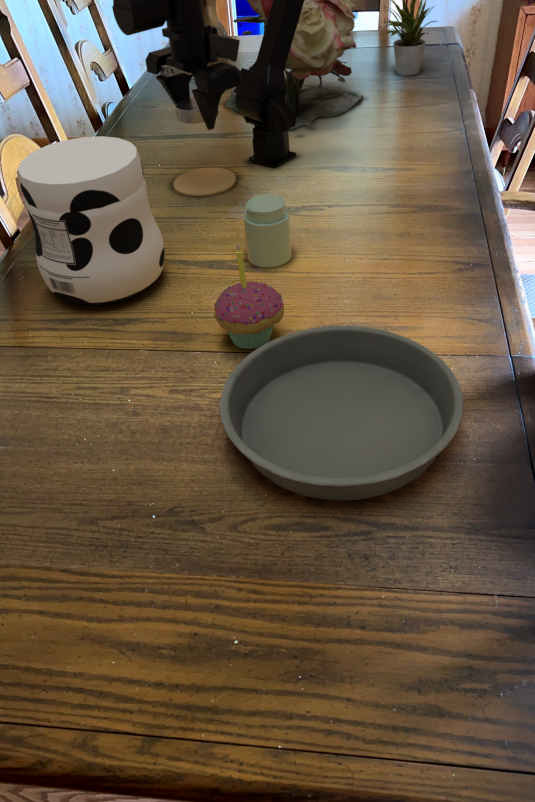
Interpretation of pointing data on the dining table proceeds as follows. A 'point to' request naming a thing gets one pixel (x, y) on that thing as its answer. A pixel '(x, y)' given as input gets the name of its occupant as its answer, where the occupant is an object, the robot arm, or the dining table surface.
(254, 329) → the cupcake
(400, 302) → the dining table surface
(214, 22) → the ceramic vessel
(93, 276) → the milk container
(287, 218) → the jar
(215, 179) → the coaster
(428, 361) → the cake pan
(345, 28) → the rose bouquet
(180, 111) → the lid
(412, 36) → the house plant
